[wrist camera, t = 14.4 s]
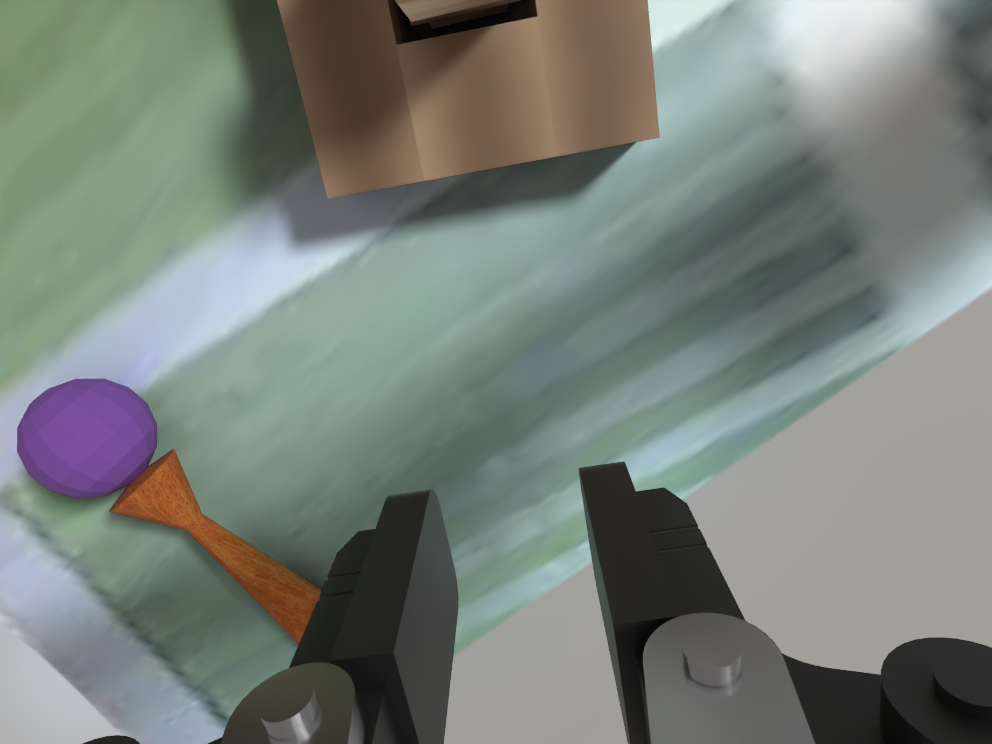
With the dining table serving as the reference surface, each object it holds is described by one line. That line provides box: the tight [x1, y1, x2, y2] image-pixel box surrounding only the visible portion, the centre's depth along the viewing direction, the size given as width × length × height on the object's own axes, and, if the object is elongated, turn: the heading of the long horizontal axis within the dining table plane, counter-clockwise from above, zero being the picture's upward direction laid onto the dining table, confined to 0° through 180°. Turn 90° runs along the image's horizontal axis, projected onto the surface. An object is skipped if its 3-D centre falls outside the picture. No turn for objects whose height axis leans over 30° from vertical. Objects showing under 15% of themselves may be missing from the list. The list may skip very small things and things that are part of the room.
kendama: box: [17, 379, 322, 644], centre depth 35 cm, size 6×6×20 cm
